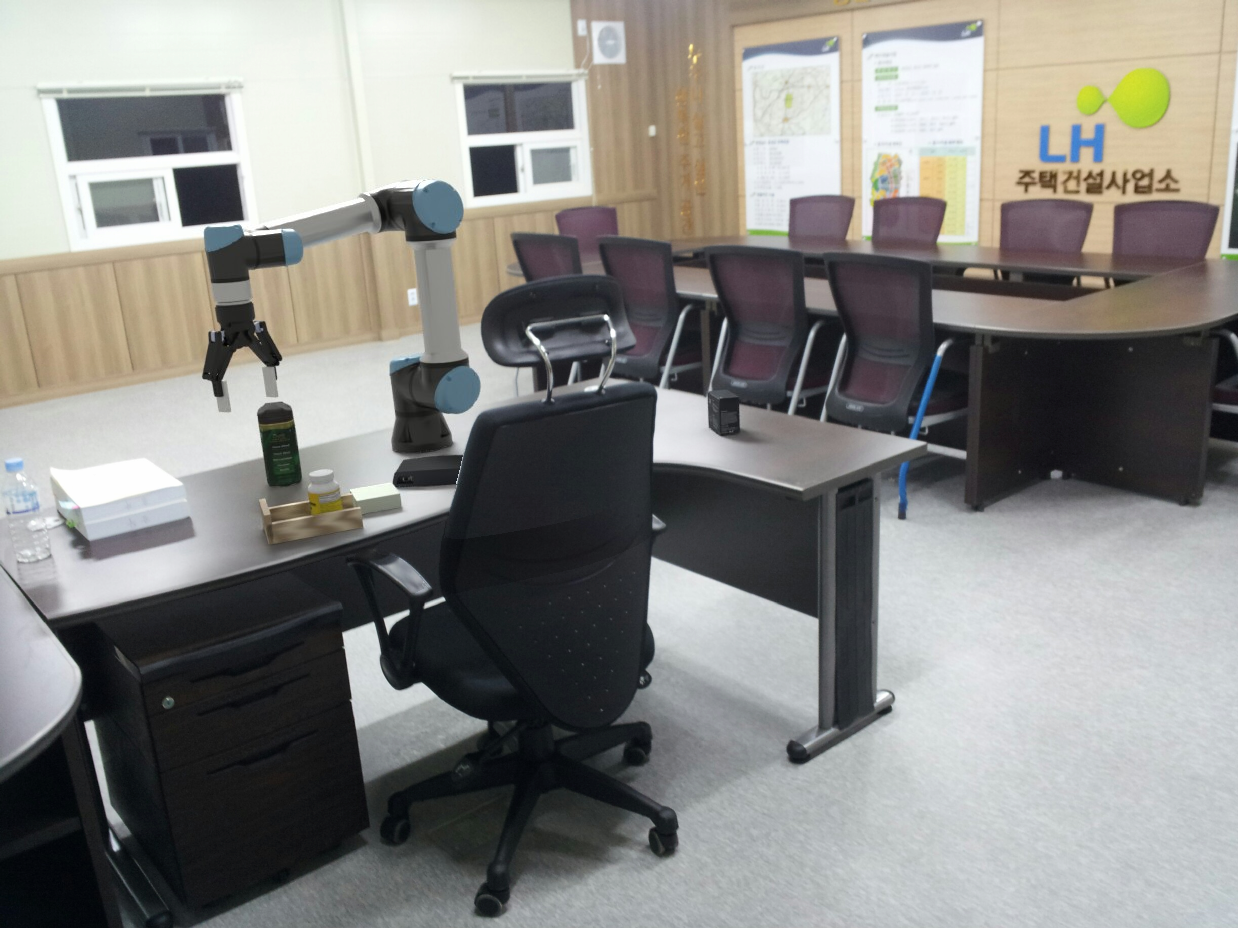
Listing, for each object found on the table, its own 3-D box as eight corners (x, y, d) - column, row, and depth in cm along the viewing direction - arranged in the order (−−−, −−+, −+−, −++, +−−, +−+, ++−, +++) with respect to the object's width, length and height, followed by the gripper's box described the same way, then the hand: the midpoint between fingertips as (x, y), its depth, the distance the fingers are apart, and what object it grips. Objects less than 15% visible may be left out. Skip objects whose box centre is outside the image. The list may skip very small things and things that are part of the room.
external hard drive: (402, 473, 252) (400, 456, 251) (485, 468, 252) (483, 451, 251) (391, 490, 240) (389, 473, 238) (478, 485, 239) (476, 467, 238)
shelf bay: (353, 511, 226) (350, 483, 224) (363, 527, 216) (359, 498, 214) (263, 527, 219) (258, 499, 218) (268, 544, 209) (264, 515, 207)
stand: (393, 495, 235) (391, 482, 234) (401, 506, 226) (400, 493, 226) (351, 502, 231) (349, 489, 230) (358, 514, 223) (356, 501, 222)
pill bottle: (311, 522, 220) (303, 471, 217) (342, 517, 222) (335, 466, 219) (314, 532, 215) (306, 479, 212) (346, 526, 217) (338, 474, 214)
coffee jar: (304, 485, 246) (292, 406, 241) (268, 490, 244) (255, 410, 238) (302, 474, 255) (290, 397, 249) (267, 479, 253) (255, 401, 247)
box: (741, 433, 265) (740, 396, 263) (719, 436, 264) (718, 398, 262) (728, 425, 274) (727, 388, 271) (707, 427, 273) (706, 391, 270)
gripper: (263, 293, 232) (277, 390, 238) (171, 311, 210) (189, 417, 216) (290, 293, 229) (304, 391, 235) (200, 312, 207) (217, 419, 213)
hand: (249, 404), depth 225 cm, fingers open, 13 cm apart
